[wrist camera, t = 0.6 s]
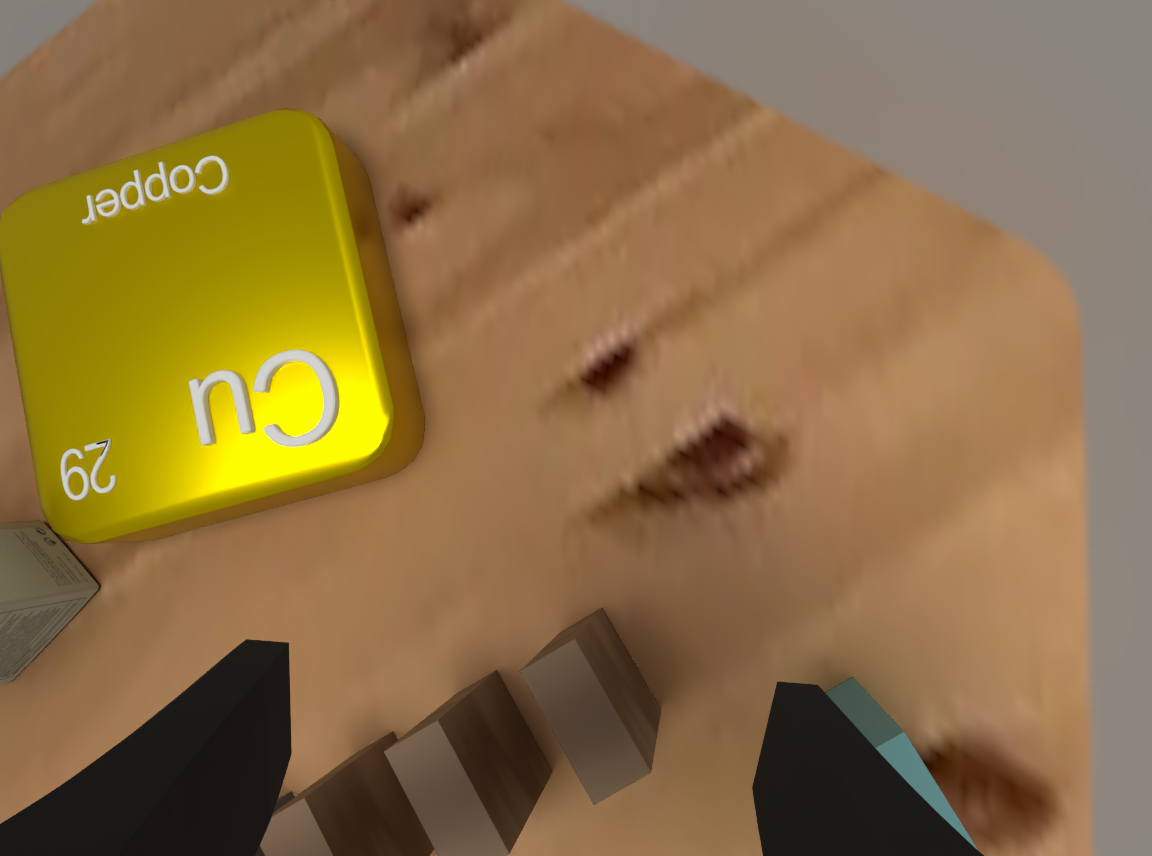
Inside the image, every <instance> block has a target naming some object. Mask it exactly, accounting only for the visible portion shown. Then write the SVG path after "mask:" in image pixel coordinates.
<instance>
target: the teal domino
mask: <svg viewBox="0 0 1152 856" xmlns="http://www.w3.org/2000/svg"><path fill="white" fill-rule="evenodd" d="M825 693H826V694H827V695H828V696H829V698H830V699H831V700H832V701H833V702H834V703H835V704H836V705H837V706H838V707H839V708H840V710H841V711H842V712H843V713H844V714H845V715H846V716H847V717H848V718H849V720H850V721H851V722H852V723H853V724H854V725H855V726H856V727H857V728H858V730H859V731H860V732H861V733H862V734H863V735H864V736H865V737H866V738H867V739H868V740H869V742H870V743H871V744H872V745H873V746H874V747H875V748H876V749H877V750H878V751H879V752H880V754H881V755H882V756H883V757H884V758H885V759H886V760H887V761H888V762H889V763H890V764H891V765H892V766H893V767H894V769H895V770H896V771H897V772H898V773H899V774H900V775H901V776H902V777H903V778H904V779H905V780H906V781H907V782H908V783H909V784H910V785H911V786H912V787H913V788H914V789H915V790H916V791H917V792H918V793H919V794H920V795H921V796H922V797H923V798H924V799H925V800H926V801H927V802H928V803H929V804H930V805H931V806H932V807H933V808H934V809H935V810H936V811H937V812H938V813H939V814H940V815H941V816H942V817H943V818H944V819H945V820H946V821H947V822H948V823H949V824H950V825H951V826H952V827H954V828H955V829H956V830H957V831H958V832H959V833H960V834H961V835H962V836H963V837H964V838H965V839H966V840H967V841H968V842H969V843H970V844H972V845H973V846H974V847H975V848H976V846H975V845H974V843H973V841H972V840H971V838H970V837H969V835H968V833H967V832H966V830H965V829H964V827H963V825H962V824H961V822H960V820H959V819H958V817H957V816H956V814H955V812H954V811H953V809H952V808H951V806H950V804H949V803H948V801H947V800H946V798H945V796H944V795H943V793H942V792H941V790H940V788H939V787H938V785H937V784H936V782H935V780H934V779H933V777H932V776H931V774H930V772H929V771H928V769H927V768H926V766H925V764H924V763H923V761H922V760H921V758H920V756H919V755H918V753H917V752H916V750H915V748H914V747H913V745H912V744H911V742H910V740H909V739H908V737H907V736H906V734H905V732H904V731H903V730H902V729H901V728H900V727H899V726H898V725H897V724H896V723H895V721H894V720H893V719H892V718H891V717H890V716H889V715H888V714H887V713H886V712H885V711H884V710H883V709H882V708H881V706H880V705H879V704H878V703H877V702H876V701H875V700H874V699H873V698H872V697H871V696H870V695H869V694H868V693H867V691H866V690H865V689H864V688H863V687H862V686H861V685H860V684H859V683H858V682H857V681H856V680H855V679H854V677H852V678H850V679H848V680H846V681H845V682H843V683H841V684H839V685H838V686H836V687H834V688H832V689H831V690H829V691H827V692H825ZM976 849H977V848H976ZM977 850H978V849H977Z"/></svg>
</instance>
